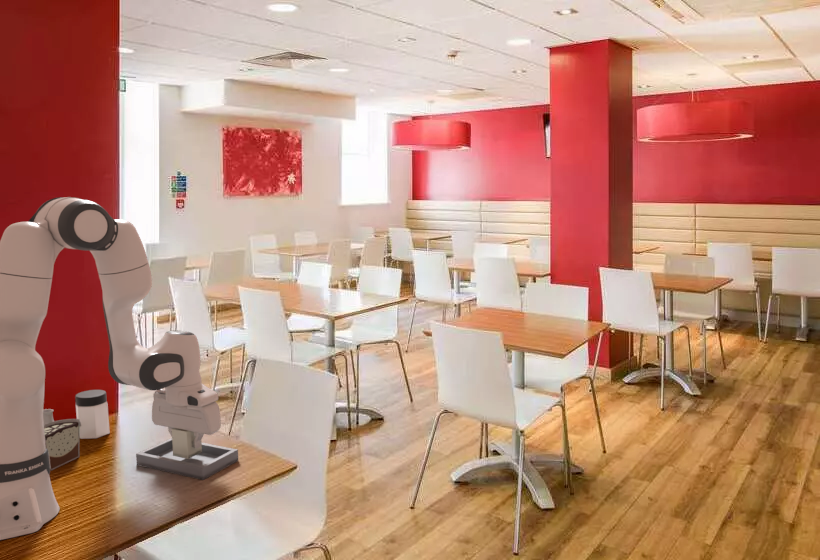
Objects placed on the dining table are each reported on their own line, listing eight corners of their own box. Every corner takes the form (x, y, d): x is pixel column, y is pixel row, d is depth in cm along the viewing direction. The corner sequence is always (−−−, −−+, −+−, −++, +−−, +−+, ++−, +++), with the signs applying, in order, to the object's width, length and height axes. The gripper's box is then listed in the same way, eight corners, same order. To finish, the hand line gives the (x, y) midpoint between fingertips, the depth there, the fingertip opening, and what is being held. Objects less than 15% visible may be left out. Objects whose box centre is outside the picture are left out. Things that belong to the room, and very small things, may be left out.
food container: (65, 452, 187) (62, 416, 185) (83, 454, 185) (80, 418, 183) (26, 469, 175) (23, 431, 174) (45, 473, 173) (42, 434, 172)
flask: (51, 451, 187) (48, 415, 186) (28, 449, 189) (25, 414, 187) (69, 441, 194) (67, 407, 193) (47, 440, 196) (44, 405, 194)
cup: (188, 458, 175) (186, 430, 174) (173, 455, 177) (171, 427, 176) (202, 451, 179) (200, 424, 178) (187, 449, 181) (185, 421, 180)
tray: (203, 480, 168) (202, 468, 167) (136, 464, 177) (136, 453, 177) (238, 460, 179) (237, 449, 179) (174, 447, 189) (173, 436, 189)
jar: (97, 426, 206) (94, 387, 204) (116, 431, 202) (113, 391, 201) (70, 436, 198) (67, 396, 196) (89, 441, 194) (86, 399, 193)
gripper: (144, 391, 178) (147, 443, 179) (205, 401, 169) (208, 455, 171) (162, 385, 183) (165, 435, 185) (223, 394, 174) (226, 447, 176)
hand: (186, 445), depth 178 cm, fingers closed on cup, 5 cm apart
